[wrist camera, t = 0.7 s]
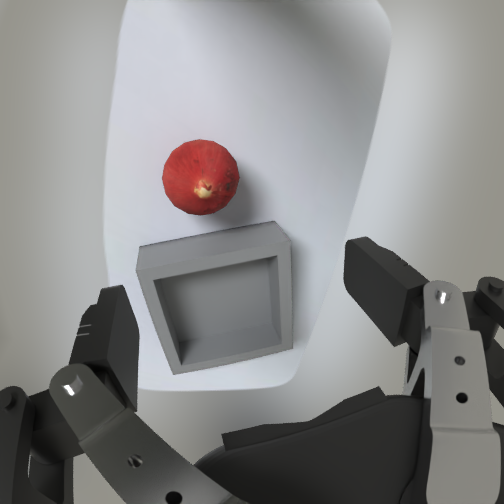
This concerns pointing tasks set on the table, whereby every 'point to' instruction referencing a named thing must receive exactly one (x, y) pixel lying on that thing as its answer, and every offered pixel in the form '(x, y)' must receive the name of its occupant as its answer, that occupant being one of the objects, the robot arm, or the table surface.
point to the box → (219, 295)
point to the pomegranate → (200, 177)
